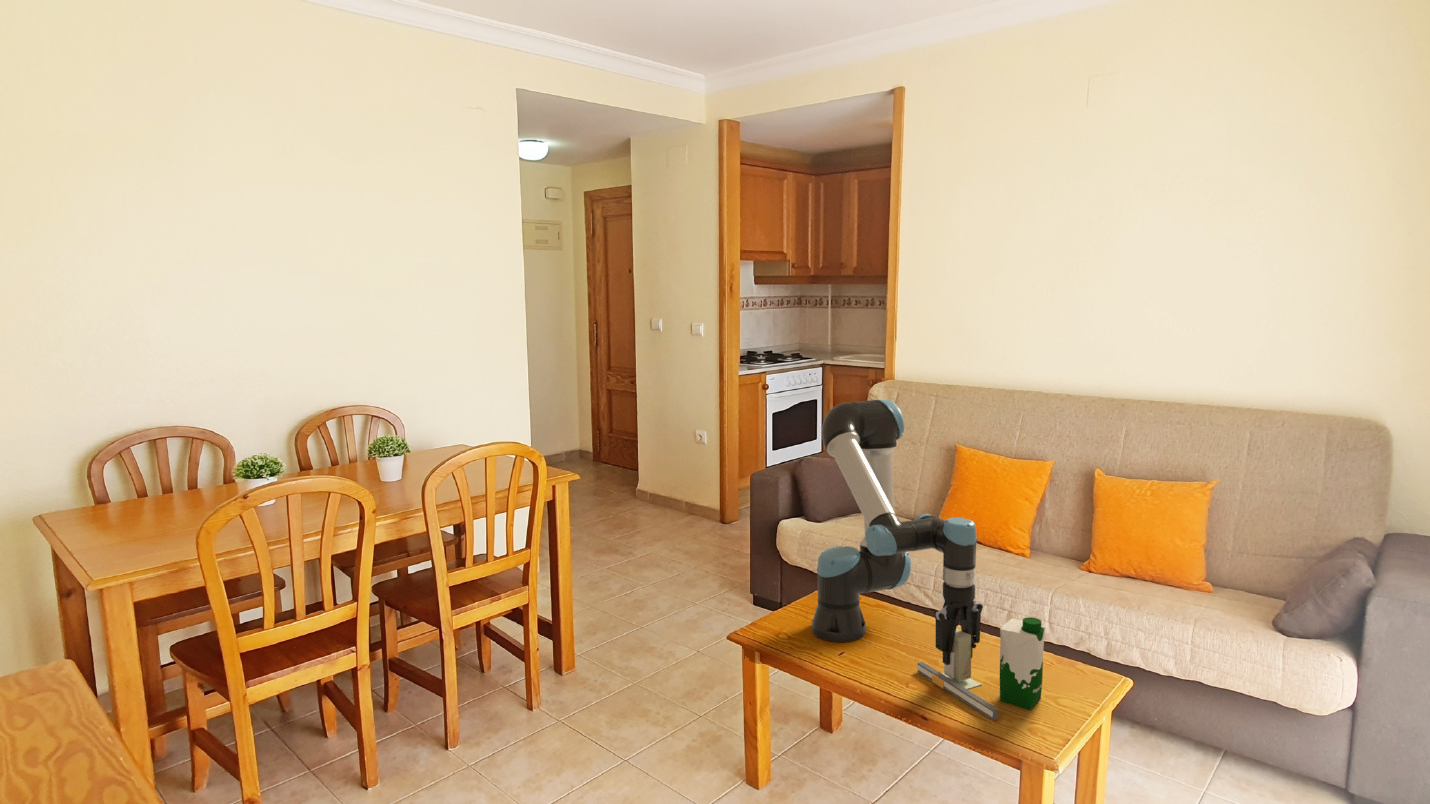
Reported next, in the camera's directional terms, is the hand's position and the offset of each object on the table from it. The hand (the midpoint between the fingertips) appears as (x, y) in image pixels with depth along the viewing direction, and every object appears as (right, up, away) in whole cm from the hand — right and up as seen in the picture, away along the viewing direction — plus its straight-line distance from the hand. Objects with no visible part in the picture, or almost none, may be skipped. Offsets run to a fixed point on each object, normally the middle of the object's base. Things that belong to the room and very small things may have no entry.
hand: (957, 673), depth 201 cm
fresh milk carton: (+12, -3, -10) cm, 16 cm away
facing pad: (0, -2, 0) cm, 2 cm away
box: (0, -1, 0) cm, 1 cm away
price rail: (-2, -3, -6) cm, 7 cm away
